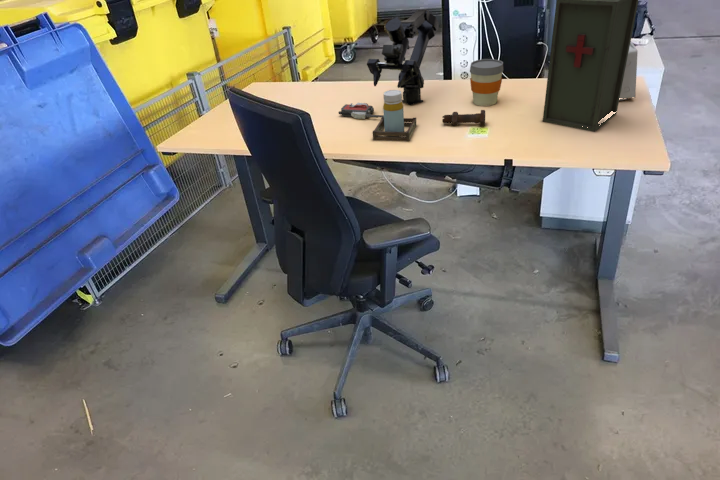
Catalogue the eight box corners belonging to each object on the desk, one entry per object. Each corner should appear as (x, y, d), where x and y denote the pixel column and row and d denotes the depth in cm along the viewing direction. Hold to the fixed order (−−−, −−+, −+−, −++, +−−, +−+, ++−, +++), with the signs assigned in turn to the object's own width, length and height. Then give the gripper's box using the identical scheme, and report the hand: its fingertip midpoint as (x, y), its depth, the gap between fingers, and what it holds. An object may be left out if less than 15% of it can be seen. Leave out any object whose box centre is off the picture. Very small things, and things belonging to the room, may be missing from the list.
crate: (382, 125, 194) (381, 117, 192) (416, 125, 190) (416, 117, 188) (373, 140, 183) (372, 131, 181) (409, 141, 179) (408, 132, 177)
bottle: (398, 138, 182) (396, 97, 173) (381, 136, 185) (378, 95, 177) (407, 131, 186) (406, 90, 178) (390, 129, 190) (388, 88, 181)
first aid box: (616, 114, 183) (640, -10, 161) (594, 131, 172) (617, 1, 150) (565, 105, 194) (582, -12, 172) (542, 121, 183) (556, -1, 161)
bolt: (443, 128, 191) (485, 127, 187) (441, 126, 186) (484, 125, 182) (443, 112, 190) (485, 110, 186) (442, 109, 185) (485, 108, 181)
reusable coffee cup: (499, 108, 198) (502, 68, 190) (466, 107, 202) (467, 68, 193) (502, 96, 208) (505, 58, 199) (471, 96, 211) (472, 58, 203)
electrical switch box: (583, 95, 207) (583, 45, 196) (624, 88, 203) (625, 36, 193) (592, 108, 195) (592, 55, 184) (635, 101, 191) (637, 46, 181)
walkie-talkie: (336, 118, 204) (384, 121, 197) (335, 107, 201) (383, 110, 194) (344, 110, 210) (391, 113, 204) (343, 99, 208) (390, 102, 201)
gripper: (368, 35, 186) (355, 70, 182) (417, 35, 179) (405, 73, 175) (377, 56, 196) (365, 90, 192) (424, 57, 189) (412, 93, 184)
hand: (386, 86), depth 185 cm, fingers open, 9 cm apart
